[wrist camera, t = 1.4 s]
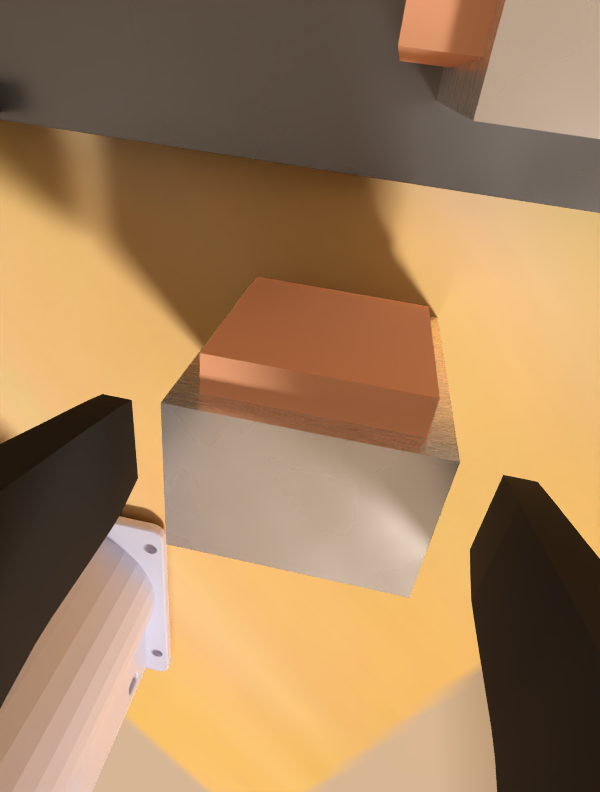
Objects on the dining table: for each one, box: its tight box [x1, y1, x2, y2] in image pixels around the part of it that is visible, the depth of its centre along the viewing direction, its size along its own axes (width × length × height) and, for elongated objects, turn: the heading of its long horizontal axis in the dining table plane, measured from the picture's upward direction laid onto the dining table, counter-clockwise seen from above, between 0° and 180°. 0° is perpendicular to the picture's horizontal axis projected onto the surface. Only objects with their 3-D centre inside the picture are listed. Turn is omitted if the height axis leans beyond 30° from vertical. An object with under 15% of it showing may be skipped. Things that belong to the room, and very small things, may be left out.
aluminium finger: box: [161, 276, 460, 598], centre depth 12 cm, size 4×5×6 cm
